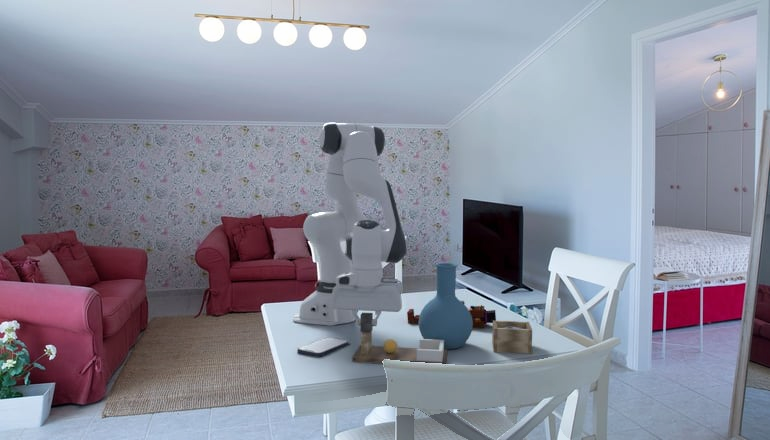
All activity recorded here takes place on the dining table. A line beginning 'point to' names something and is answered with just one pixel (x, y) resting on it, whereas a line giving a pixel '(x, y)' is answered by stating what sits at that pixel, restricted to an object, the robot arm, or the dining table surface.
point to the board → (391, 355)
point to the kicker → (366, 333)
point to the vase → (446, 312)
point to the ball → (390, 346)
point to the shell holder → (512, 337)
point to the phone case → (322, 347)
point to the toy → (477, 313)
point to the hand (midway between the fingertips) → (366, 325)
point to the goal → (430, 350)
